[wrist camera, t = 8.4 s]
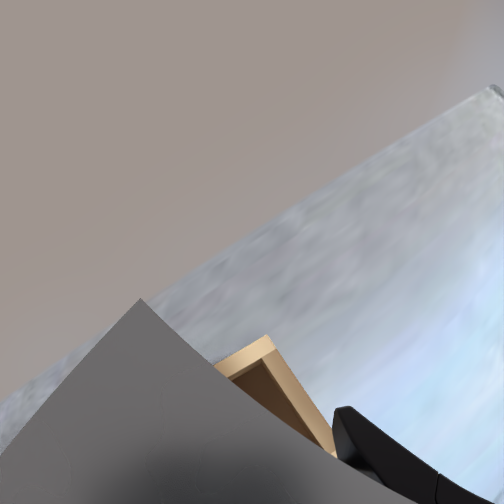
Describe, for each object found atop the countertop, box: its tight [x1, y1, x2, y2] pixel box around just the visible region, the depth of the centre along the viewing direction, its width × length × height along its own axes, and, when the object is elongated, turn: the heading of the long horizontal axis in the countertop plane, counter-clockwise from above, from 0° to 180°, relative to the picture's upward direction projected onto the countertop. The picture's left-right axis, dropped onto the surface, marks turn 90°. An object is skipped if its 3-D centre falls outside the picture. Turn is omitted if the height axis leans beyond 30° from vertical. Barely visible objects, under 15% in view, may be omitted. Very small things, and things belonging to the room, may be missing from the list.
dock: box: [213, 335, 337, 458], centre depth 16 cm, size 10×10×3 cm
